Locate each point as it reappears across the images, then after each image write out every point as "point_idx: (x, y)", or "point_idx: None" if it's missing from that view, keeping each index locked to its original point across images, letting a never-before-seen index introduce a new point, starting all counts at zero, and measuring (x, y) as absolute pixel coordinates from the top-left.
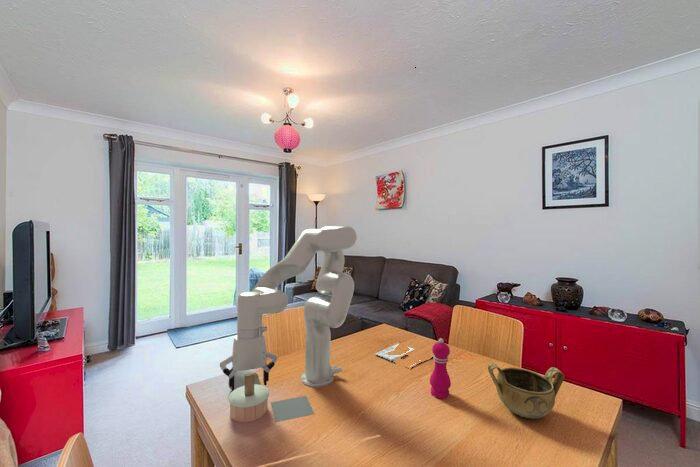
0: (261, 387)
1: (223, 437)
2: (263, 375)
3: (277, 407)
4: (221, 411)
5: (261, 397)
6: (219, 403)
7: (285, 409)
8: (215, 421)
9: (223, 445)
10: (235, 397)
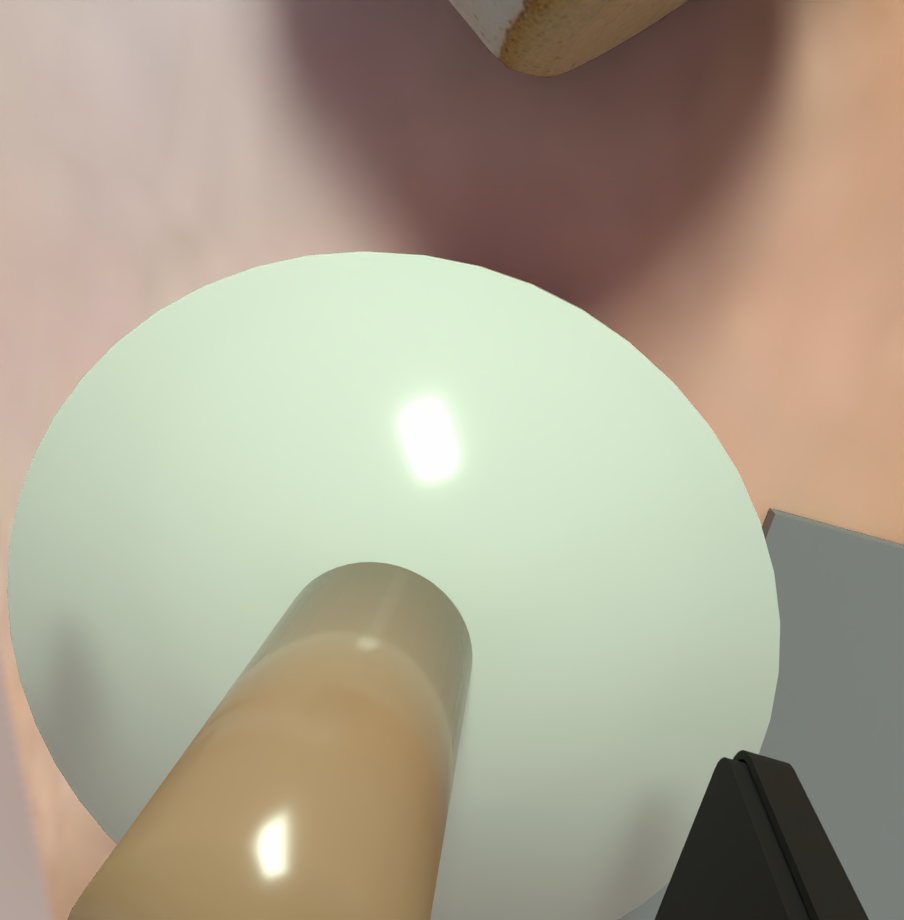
0: (683, 561)
1: (63, 792)
2: (757, 906)
3: (790, 690)
4: (106, 285)
5: (526, 888)
6: (107, 33)
7: (856, 793)
8: (13, 469)
9: (49, 895)
10: (115, 619)
